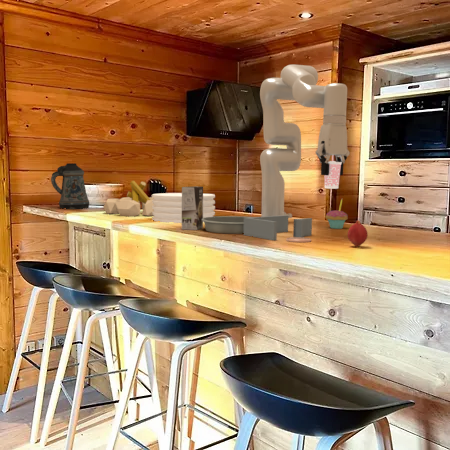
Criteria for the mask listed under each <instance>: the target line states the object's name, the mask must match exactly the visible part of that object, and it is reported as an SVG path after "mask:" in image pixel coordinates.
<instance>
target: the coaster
mask: <svg viewBox="0 0 450 450" xmlns="http://www.w3.org/2000/svg"><path fill="white" fill-rule="evenodd" d="M285 241H287V242H289V241H290V243H311V241H312V238H310V237H305V236H304V237H293V236H292V237H291V236H290V237H286V238H285Z"/></svg>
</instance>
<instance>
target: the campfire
mask: <svg viewBox="0 0 450 450" xmlns="http://www.w3.org/2000/svg"><path fill="white" fill-rule="evenodd" d="M129 185H130V186H131V191H129V190H128V191H127V194H126V197H121V198H107V200H106V201H105V203H104V205H103V206H102V208H103V209H104V210H105V212H106V214H107V215H118V214H119V216H120V217H137V216H139V215H142V216H146V217H154V215H152V211H154V209H152V206H153V205H154V204H153V203H152V200H154V198H153V197H152V196H150V197H149V196H148V195H147V194H146V193H145V191H144V189H145V187H146V186H147V183H146V181H141V182H140V183H139V185H138V183H137V182H136V181H135V180H131V181H130V183H129ZM141 210H142V212H141Z"/></svg>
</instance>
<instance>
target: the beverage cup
mask: <svg viewBox="0 0 450 450" xmlns="http://www.w3.org/2000/svg"><path fill="white" fill-rule="evenodd" d="M334 156H335V155H331V160H329V161H328V163H329V175H323V177H324V189H329V190H330V189H335V190H337V189H339V185H340V176H341V175H340V168H341V163H342V162H337V161H336V160H334Z"/></svg>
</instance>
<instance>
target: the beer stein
mask: <svg viewBox="0 0 450 450" xmlns="http://www.w3.org/2000/svg"><path fill="white" fill-rule="evenodd" d="M84 174H85V171H84V170H83V169H82V168H81V167H80V166H78V164H77V163H75V162H74V163H71V162H68V163H66V164H65V165H61V166H59V167H57V171H54V172H53V173H52V174H51V178H50V182H51V184H52V187H53V188H54V189H55V191H56V192H57V194H60V200H59V202H58V205H59V209H60V208H66V209H65V210H84V209H83V208H88V209H89V207H90V200H89V197H88V194H87V190H86V185H85V179H84ZM58 177H62V184H61V188H60V187H59V185H58V183H57V181H56V179H57V178H58Z"/></svg>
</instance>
